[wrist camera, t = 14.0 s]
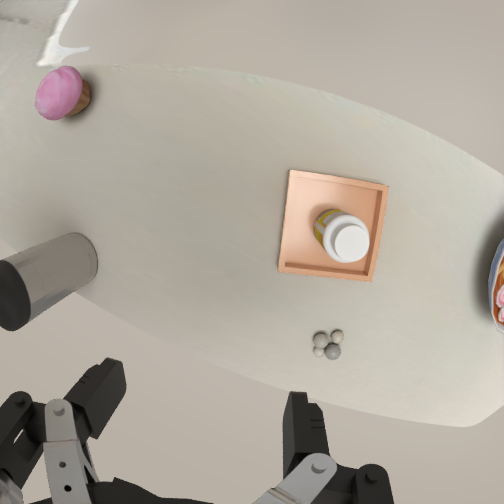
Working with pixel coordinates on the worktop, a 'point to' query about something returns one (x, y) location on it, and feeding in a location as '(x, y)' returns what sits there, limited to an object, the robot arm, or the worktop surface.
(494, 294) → the ramen bowl
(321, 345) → the pebbles
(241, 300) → the worktop surface
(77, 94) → the cupcake
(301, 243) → the terracotta dish
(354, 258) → the supplement bottle
